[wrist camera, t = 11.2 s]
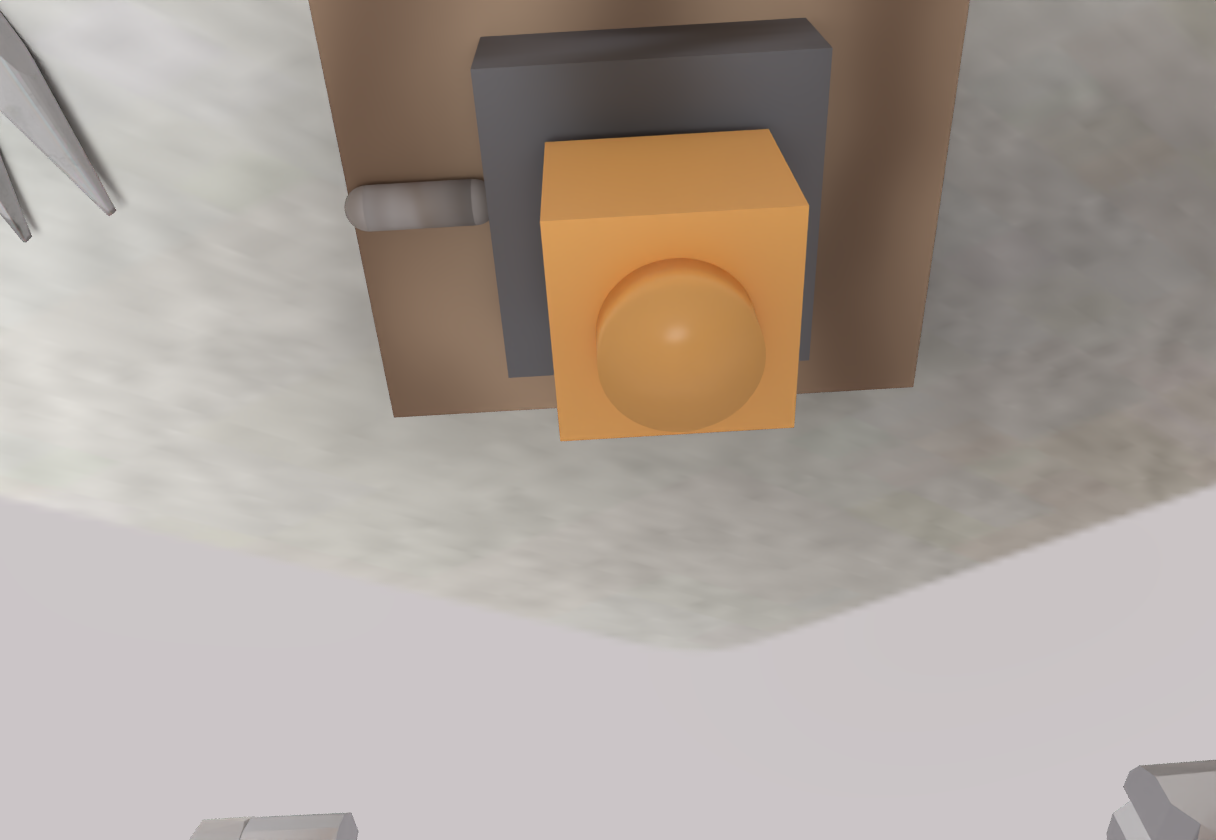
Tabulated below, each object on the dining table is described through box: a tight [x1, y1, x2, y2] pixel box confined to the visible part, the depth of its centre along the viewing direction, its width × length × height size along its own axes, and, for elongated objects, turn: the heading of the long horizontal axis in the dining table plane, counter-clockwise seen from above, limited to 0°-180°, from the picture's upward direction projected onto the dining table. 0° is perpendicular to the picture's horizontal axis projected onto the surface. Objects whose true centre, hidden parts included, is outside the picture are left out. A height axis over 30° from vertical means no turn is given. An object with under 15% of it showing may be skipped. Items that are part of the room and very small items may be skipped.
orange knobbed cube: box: [540, 129, 809, 441], centre depth 21 cm, size 5×5×6 cm
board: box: [308, 0, 970, 417], centre depth 24 cm, size 16×14×10 cm
